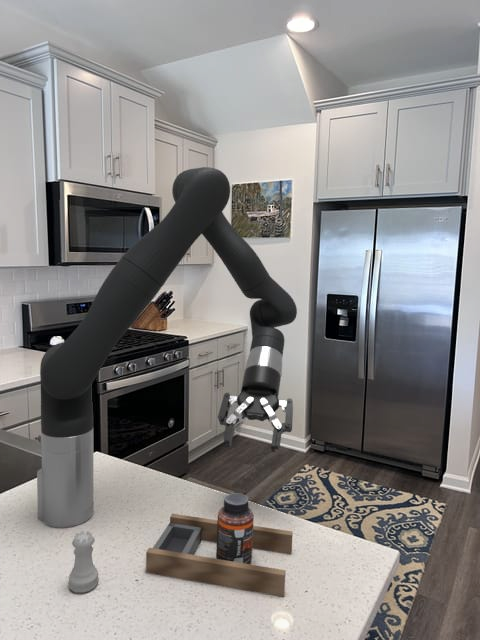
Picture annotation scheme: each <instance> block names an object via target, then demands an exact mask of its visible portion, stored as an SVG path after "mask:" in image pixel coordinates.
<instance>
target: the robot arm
mask: <svg viewBox="0 0 480 640" xmlns="http://www.w3.org/2000/svg"><path fill="white" fill-rule="evenodd" d="M230 195H231V185H230V181H229V179H228V177H227V175H226V174H225V173H224V172H223V171H222V170H219V169H217V168H214V167H207V166H206V167H205V166H202V167H196V168H190V169H186V170H184V171H181V172H180V173H179V174H178V175H176V177H175V179H174V181H173V184H172V197H173V201H174V204H173V206H172V207H171V209H170V210H169V211H168V213H167V214H166V215H165V217H164V218H163V219H162V220H161V221H160V222H159V223H158V224H156V225H155V226H154V227H153V228H152V229H151V230H150V231H148V232H147V233H146V234H144V235H143V236H142V237H141V238H139V239H138V240H137V241H136V242H135V243H133V244H132V246H131V245H130V248H129V249H128V250H126V252H124V254H123V255H122V256H121V258H119V260H118V262H117V263H116V264H115V265H114V266H113V268H112V269H111V270H110V272H109V273H108V275H107V276H106V278H105V280H104V281H103V282H102V284H101V286H100V288H99V289H98V291H97V294H96V295H95V297H94V298H93V301H92V303H91V305H90V307H89V309H88V311H87V313H86V314H85V316H84V318H83V319H82V321H81V322H80V323H79V325H78V326H77V327H76V328H75V329H74V331H73V332H71V334H70V335H69V336H68V337H67V338H66V339H65V341H64V342H60V343H57V344H55V345H52V346H51V347H50V348H48V349H47V350H46V351H45V352H44V354H43V356H42V358H41V360H40V365H39V367H40V369H39V371H40V372H39V376H40V430H41V432H40V433H41V436H40V437H41V468H39V469H38V470H37V472H36V483H37V484H36V489H37V520H41V521H43V523H44V524H45V525H47V526H49V527H52V528H53V527H54V528H70V527H75V526H77V525H81V524H83V523H85V522H87V521H88V520H89V519H91V517H92V516H93V515H94V503H95V502H94V407H93V386H92V385H93V383H94V381H95V379H96V377H97V376H98V374H99V372H100V370H101V368H103V365H104V364H105V362H106V360H108V357H109V356H110V354H111V353H112V351H113V350H114V348H115V347H116V345H117V344H118V342H119V341H120V340H121V338H122V337H123V336H124V335H125V333H126V332H127V331H128V330H129V329H130V328H131V327H132V326H133V324H134V323H135V322H136V321H137V319H138V318H140V316H141V315H142V313H143V312H144V311H145V310H146V308H147V307H148V306H149V305H150V303H151V302H152V301H153V299H155V297H156V296H157V295H158V293H159V291H160V290H161V289H162V288H163V286H164V285H165V283H166V282H167V280H168V279H169V277H170V276H171V275H172V273H173V271H175V269H176V268H177V266H178V265H179V264H180V262H181V261H182V260H183V258H184V257H185V256H186V254H187V253H188V251H189V249H190V248H191V247H192V246H193V244H194V243H195V242H196V241H197V240H198V239H199V238H200V236H201V235H202V236H203V237H204V238H205V239H206V241H207V242H208V244H209V245H210V246H211V248H213V250H214V251H215V253H216V255H217V256H218V257H219V259H220V260H221V261H222V263H223V264H224V266H225V267H226V269H227V271H228V272H229V273H230V275H231V277H232V278H233V280H234V282H235V284H236V285H237V287H238V288H239V290H240V292H241V293H242V295H244V297H246V298H247V299H250V300H254V299H255V300H256V301H255V302H253V304H252V305H251V307H250V309H249V319H250V326H251V338H252V340H251V344H250V348H249V353H248V356H247V359H246V363H245V368H244V375H243V379H242V382H241V383H242V384H241V389H240V392H239V394H238V396H236V395H230V393H229V392H224V394H223V397H222V399H221V400H222V401H221V404H220V407H219V411H218V415H217V419H218V421H219V425H221V426H225V428H224V432H223V433H224V434H223V442H224V444H225V445H226V447H229V448H231V447H232V444H233V439H234V433H235V427H236V426H237V425H238V424H241V423H242V422H244V421H245V420H246V419H247V420H249V421H253V420H256V421H259V422H264V421H266V420H267V421H268V423H269V424H270V426H271V427H272V429H273V430H272V437H271V446H270V449H271V452H272V453H276V451H277V450H279V449H280V446H281V440H282V434H283V433H286V432H287V433H291V432H292V431H293V421H294V420H293V414H294V404H293V403H294V402H293V399H292V398H290V397H289V398H287V399H286V400H279V393H280V387H281V378H282V375H283V354H284V347H285V335H284V334H283V332H282V331H281V330H280V329H278V328H279V327H282V326H286V325H289V324H291V323H294V321H295V320H296V318H297V315H298V313H297V312H298V309H297V305H296V302H295V301H294V299H293V298H292V296H291V295H290V294H289V292H287V290H285V289H284V288H283V287H282V286H281V285H280V284H279V283H278V282H277V281H275V279H273V277H271V276H270V274H269V272H268V270H267V269H266V267H265V265H264V264H263V262H262V261H261V260H262V259H260V257H259V255H258V254H257V253H256V252H255V250H254V249H253V248H252V247H251V245H250V244H249V243H248V242H247V241H246V240H245V239H244V237H242V235H241V234H239V232H237V230H236V229H234V227H233V225H232V224H231V223H230V221H229V220H228V219H227V218H226V216H225V214H224V210H225V208H226V207H227V205H228V202H229V200H230V197H231V196H230ZM257 299H258V300H257ZM236 403H237V405H238V407H237V408H236V409H234V412H232V413H231V415H230V416H229V411H230V409H231V408H232V407H233V406H234V405H235V404H236ZM279 408H281V410H282V412H283V413H285V419H284V422H280V420H279V418H278V417H277V415H276V413H275V412H276V411H278V409H279Z"/></svg>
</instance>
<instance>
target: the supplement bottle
mask: <svg viewBox="0 0 480 640" xmlns="http://www.w3.org/2000/svg"><path fill="white" fill-rule="evenodd" d="M249 500H250V499H249V497H248V496H247V495H245V494H243V493H239V492H235V493H233V492H232V493H229V494H227V495H225V496H224V498H223V506H222V507H221V508H220V509H219V511H218V513H217V520H218V521H217V543H216V553H215V554H216V555H215V559H221V560H227V561H233V562H239V563H245V564H251V565H252V560H253V559H252V558H253V548H252V542H253V526H254V518H255V517H254V512H253V510H252V509H251V508H250V507H249V506H250V505H249V504H250V503H249Z"/></svg>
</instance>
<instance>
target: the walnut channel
mask: <svg viewBox="0 0 480 640" xmlns="http://www.w3.org/2000/svg"><path fill="white" fill-rule="evenodd" d="M217 521H218V519H211V518H205V517H200V516H199V517H196V516H190V515H186V514H179V513H171V515H170V517H169V523H175V524H181V525H188V526H194V527H201V528H202V531H201V541H206V542H210V543H211V542H212V543H216V544H217ZM293 533H294V532H293V531H292V530H285V529H278V528H272V527H265V526H260V525H259V526H258V525H253V542H252V549H253V550H261V551H268V552H275V553H280V554H286V555H292V552H293V549H292V548H293ZM145 552H146V553H145V573H146V574H153V575H157V576H158V575H159V576H163V577H170V578H175V579H181V580H187V581H192V582H196V583H197V582H198V583H203V584H207V585H208V584H209V585H214V586H220V587H226V588H230V587H231V588H232V589H236V590H242V591H248V592H249V591H250V592H253V593H259V594H266V595H271V596H277V597H282V598H284V597H285V589H286V571H287V570H286V569H281V568H280V569H279V568H273V567H268V566H262V565H256V564H252V563H251V564H245V563H239V562H233V561H227V560H221V559H216V557H208V556H202V555H197V554H194V555H191V554H185V553H179V552H173V551H166V550H160V549H154V548H153V547H148V548H147V550H146V551H145Z"/></svg>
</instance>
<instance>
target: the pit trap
mask: <svg viewBox="0 0 480 640" xmlns="http://www.w3.org/2000/svg"><path fill="white" fill-rule="evenodd" d="M201 531H202V528H201V527H194V526H188V525H181V524H175V523H170V522H169V523H168V524H167V526H166V527H165V528H164V531H163V532H162V533H161V535H160V536H159V538H158V540H157V541H156V542H155V544H154V545H153V547H152V548H154V549H160V550H166V551H173V552H179V553H185V554H191V555H196V552H197V550H198V548H199V547H200V544H201V542H202V540H201Z"/></svg>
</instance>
